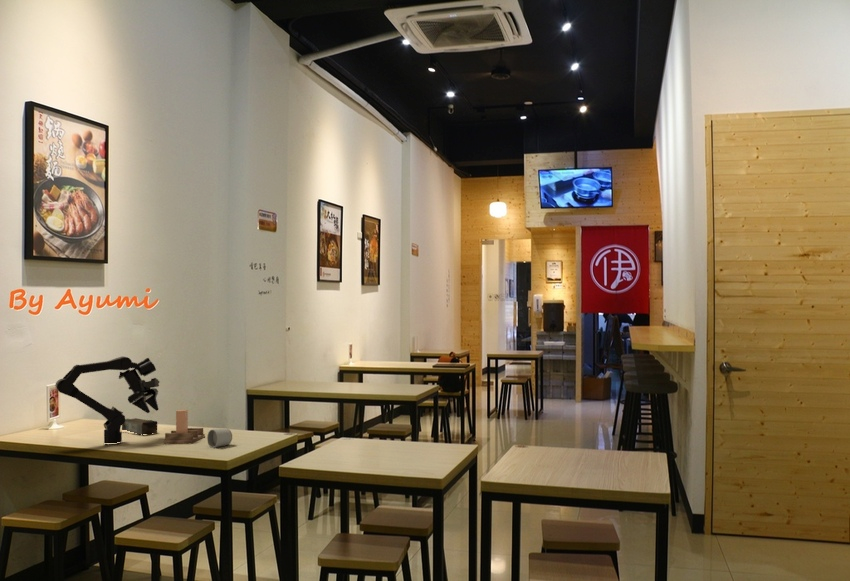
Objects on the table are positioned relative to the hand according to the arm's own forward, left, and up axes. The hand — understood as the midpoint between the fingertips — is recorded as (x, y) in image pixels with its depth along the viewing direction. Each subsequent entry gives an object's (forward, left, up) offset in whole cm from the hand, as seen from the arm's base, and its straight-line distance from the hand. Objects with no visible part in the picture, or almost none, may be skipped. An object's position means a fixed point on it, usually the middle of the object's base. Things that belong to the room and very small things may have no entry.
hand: (153, 411), depth 307 cm
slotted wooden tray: (+13, -3, -13) cm, 19 cm away
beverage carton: (-8, +26, -14) cm, 30 cm away
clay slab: (+12, -6, -12) cm, 18 cm away
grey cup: (+27, -22, -14) cm, 37 cm away
